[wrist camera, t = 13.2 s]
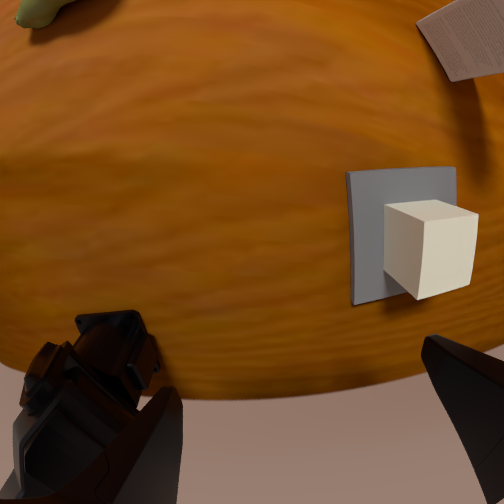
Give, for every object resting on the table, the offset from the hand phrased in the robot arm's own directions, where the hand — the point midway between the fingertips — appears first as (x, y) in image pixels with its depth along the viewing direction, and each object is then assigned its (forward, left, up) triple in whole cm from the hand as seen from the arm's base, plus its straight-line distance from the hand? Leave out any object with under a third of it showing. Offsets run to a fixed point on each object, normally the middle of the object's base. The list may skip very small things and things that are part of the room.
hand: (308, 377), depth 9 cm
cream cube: (+11, 0, -11) cm, 16 cm away
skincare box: (+18, +16, -12) cm, 27 cm away
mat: (+11, 0, -12) cm, 16 cm away
